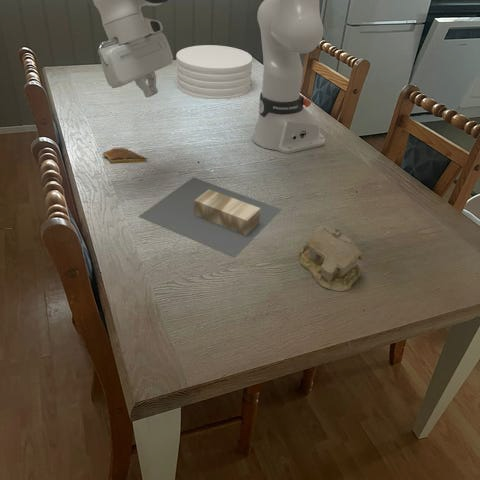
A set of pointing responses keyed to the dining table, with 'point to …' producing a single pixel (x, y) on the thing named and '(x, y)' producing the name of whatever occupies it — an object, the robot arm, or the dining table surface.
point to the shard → (123, 156)
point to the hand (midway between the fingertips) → (152, 95)
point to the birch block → (227, 211)
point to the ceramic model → (331, 258)
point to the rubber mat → (199, 229)
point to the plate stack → (213, 72)
